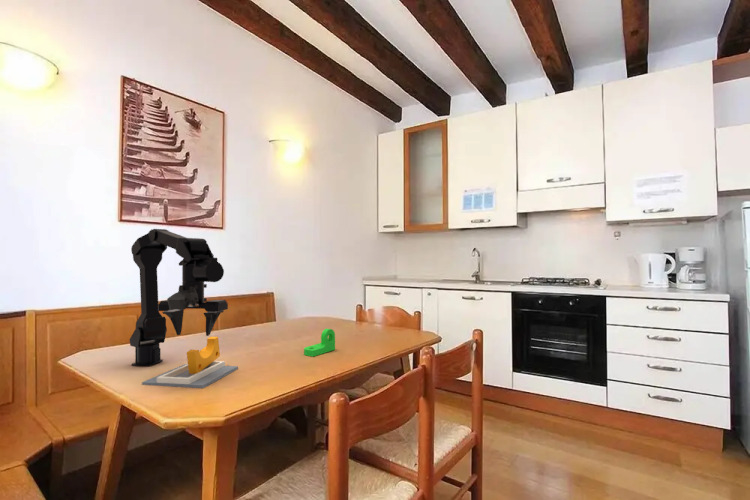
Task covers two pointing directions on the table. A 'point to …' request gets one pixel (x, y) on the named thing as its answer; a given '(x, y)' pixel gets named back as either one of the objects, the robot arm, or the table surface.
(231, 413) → the table surface
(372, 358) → the table surface
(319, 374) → the table surface
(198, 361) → the pipe clamp
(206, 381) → the jig board
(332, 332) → the mechanical part
